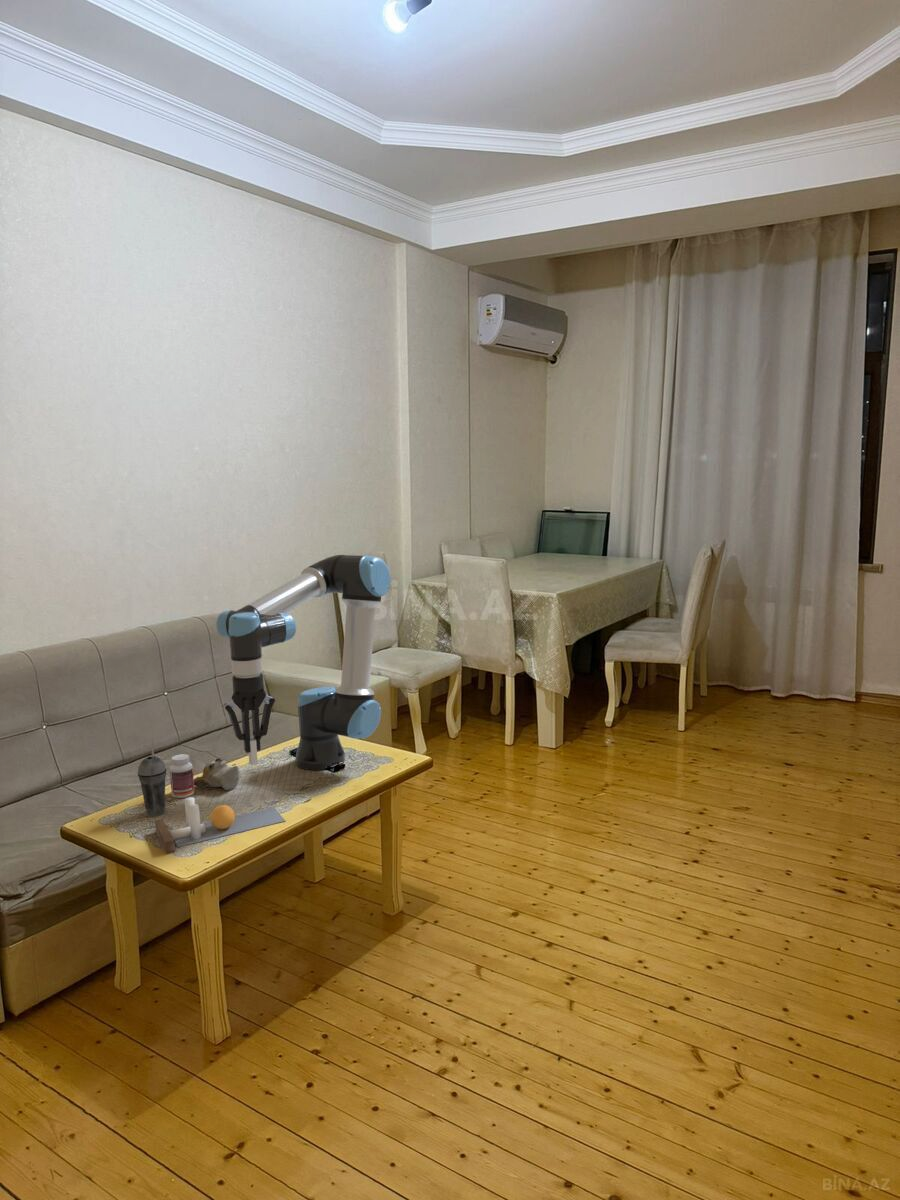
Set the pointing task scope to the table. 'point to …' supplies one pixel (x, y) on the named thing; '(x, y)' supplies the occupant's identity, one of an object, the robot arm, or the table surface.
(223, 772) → the ceramic sculpture
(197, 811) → the back pin left
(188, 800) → the back pin right
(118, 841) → the table surface
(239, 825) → the lane mat
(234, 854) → the table surface
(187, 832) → the front pin
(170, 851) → the back wall
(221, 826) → the ball
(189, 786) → the pill bottle
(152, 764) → the beverage cup
